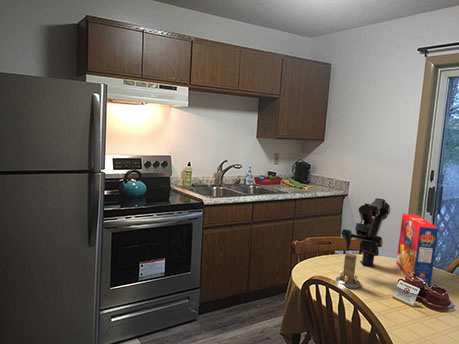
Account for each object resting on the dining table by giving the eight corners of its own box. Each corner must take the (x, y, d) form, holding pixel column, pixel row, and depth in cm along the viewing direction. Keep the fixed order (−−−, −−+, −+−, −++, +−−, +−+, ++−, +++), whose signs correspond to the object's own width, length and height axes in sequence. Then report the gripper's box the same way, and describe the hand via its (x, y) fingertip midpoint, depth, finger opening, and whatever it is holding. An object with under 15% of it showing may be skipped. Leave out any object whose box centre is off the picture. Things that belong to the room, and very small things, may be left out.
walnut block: (345, 278, 174) (347, 253, 172) (353, 281, 172) (356, 255, 170) (342, 281, 170) (345, 255, 169) (351, 283, 168) (354, 257, 167)
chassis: (339, 276, 179) (340, 267, 178) (363, 283, 173) (364, 273, 172) (332, 283, 170) (333, 274, 169) (356, 291, 164) (357, 281, 163)
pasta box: (396, 263, 204) (402, 213, 200) (411, 265, 202) (418, 215, 199) (412, 284, 176) (419, 226, 173) (430, 286, 175) (438, 228, 171)
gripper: (344, 213, 185) (334, 239, 177) (384, 220, 174) (375, 248, 167) (347, 225, 192) (338, 251, 185) (385, 233, 182) (377, 260, 174)
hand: (356, 252), depth 177 cm, fingers open, 9 cm apart
